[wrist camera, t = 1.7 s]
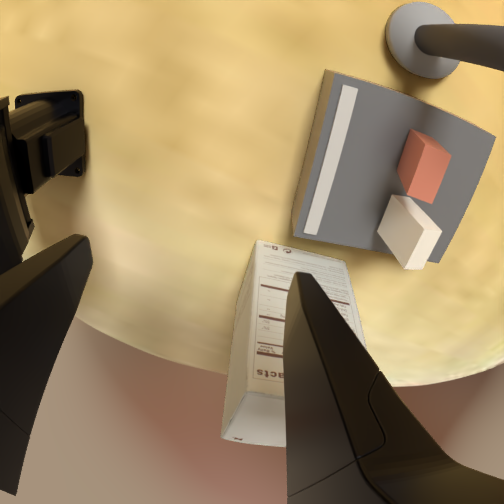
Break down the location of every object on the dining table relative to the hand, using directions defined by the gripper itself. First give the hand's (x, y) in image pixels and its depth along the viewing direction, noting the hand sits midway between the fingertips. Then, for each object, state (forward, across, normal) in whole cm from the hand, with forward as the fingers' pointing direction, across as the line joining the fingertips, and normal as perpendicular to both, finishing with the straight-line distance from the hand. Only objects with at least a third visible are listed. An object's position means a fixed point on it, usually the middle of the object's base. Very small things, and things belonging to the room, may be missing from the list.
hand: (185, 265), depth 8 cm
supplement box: (+13, -6, +12) cm, 18 cm away
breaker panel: (+13, -10, 0) cm, 16 cm away
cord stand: (+13, -10, -9) cm, 19 cm away
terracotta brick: (+10, -10, -2) cm, 14 cm away
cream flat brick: (+10, -10, +2) cm, 14 cm away
